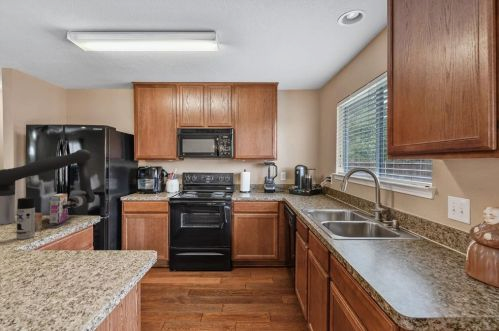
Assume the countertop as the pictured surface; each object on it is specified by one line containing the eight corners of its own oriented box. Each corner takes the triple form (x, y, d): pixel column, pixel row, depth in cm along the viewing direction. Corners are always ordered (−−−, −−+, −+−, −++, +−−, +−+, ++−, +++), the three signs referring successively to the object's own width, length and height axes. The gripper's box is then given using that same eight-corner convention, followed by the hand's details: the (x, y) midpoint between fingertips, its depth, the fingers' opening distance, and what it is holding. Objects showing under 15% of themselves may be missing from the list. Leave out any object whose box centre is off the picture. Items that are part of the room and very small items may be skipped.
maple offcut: (27, 230, 136) (27, 222, 136) (32, 228, 141) (32, 220, 140) (37, 230, 137) (37, 222, 137) (41, 228, 142) (42, 220, 141)
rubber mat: (44, 228, 142) (44, 227, 142) (59, 222, 155) (59, 221, 155) (57, 227, 143) (57, 226, 143) (70, 222, 156) (70, 221, 156)
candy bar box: (59, 223, 144) (59, 195, 144) (49, 224, 143) (49, 196, 143) (67, 219, 155) (67, 193, 155) (58, 219, 154) (58, 193, 153)
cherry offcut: (27, 222, 136) (27, 214, 136) (34, 220, 141) (34, 212, 141) (35, 222, 137) (35, 214, 137) (42, 220, 141) (42, 212, 141)
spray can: (13, 239, 121) (13, 198, 121) (28, 235, 128) (28, 196, 128) (23, 240, 120) (23, 199, 120) (38, 236, 126) (38, 197, 126)
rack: (17, 232, 133) (17, 224, 133) (45, 222, 155) (46, 215, 155) (35, 231, 134) (35, 224, 134) (61, 222, 157) (61, 215, 157)
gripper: (62, 196, 163) (44, 200, 147) (85, 196, 165) (70, 200, 148) (62, 208, 163) (44, 213, 147) (85, 207, 165) (70, 213, 149)
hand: (57, 207), depth 148 cm, fingers closed on candy bar box, 5 cm apart
